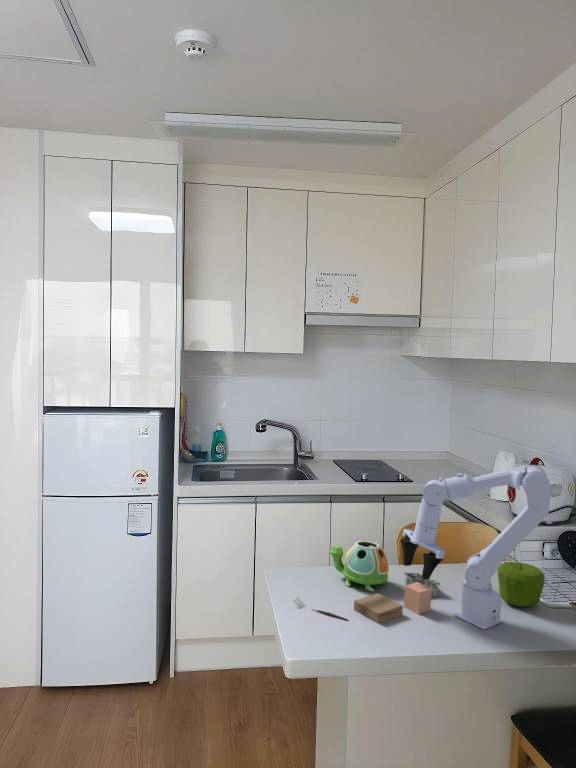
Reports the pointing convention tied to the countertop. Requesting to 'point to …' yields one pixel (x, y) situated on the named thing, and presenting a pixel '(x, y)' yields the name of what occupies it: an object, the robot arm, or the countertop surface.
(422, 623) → the countertop surface
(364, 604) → the walnut block
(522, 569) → the apple
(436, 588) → the egg carton
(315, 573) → the countertop surface
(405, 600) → the terracotta block
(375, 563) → the turtle holder
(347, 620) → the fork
